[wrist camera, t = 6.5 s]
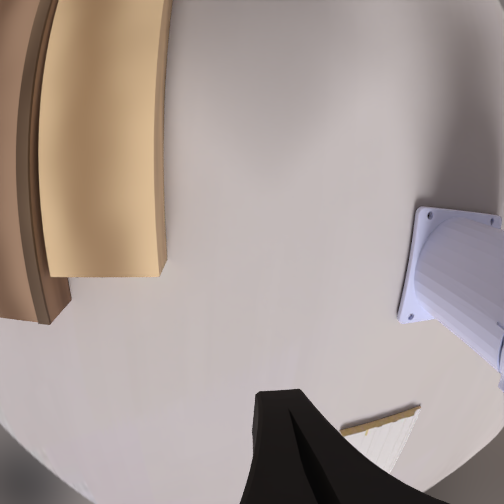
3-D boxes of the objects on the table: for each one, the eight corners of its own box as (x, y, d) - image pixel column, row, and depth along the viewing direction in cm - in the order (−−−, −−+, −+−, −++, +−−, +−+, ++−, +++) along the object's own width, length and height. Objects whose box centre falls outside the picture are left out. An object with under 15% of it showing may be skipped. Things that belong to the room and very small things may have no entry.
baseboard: (428, 397, 24) (336, 425, 23) (442, 415, 21) (347, 448, 20) (365, 515, 32) (307, 531, 31) (370, 527, 30) (310, 544, 29)
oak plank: (182, -52, 11) (178, -79, 8) (168, 257, 17) (159, 276, 14) (93, -37, 10) (79, -59, 7) (73, 259, 16) (50, 276, 13)
